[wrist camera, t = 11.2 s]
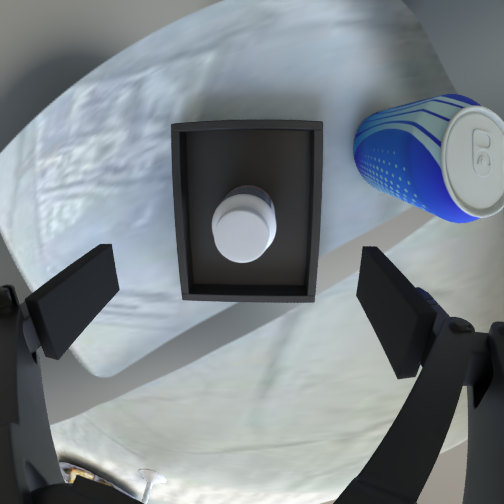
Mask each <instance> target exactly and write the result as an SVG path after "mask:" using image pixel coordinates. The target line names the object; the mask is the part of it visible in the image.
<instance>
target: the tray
mask: <svg viewBox="0 0 504 504" xmlns="http://www.w3.org/2000/svg"><path fill="white" fill-rule="evenodd" d="M171 146H172V176H173V197H174V213H175V228H176V241H177V252H178V263H179V273H180V283H181V292H182V300H192V301H221V302H279V303H280V302H282V303H284V302H285V303H289V302H290V303H295V302H296V303H310V302H315V292H316V280H317V267H318V254H319V239H320V221H321V199H322V166H323V122H321V121H302V120H222V121H202V122H187V123H175V124H171ZM245 185H251V186H256V187H259V188H261V189H262V190H264V191H265V192H266V193H267V194H268V195H269V196H270V198H271V200H272V202H273V204H274V209H275V219H276V234H275V237H274V240H273V241H272V243H271V244H270V246H269V247H268V248H267V249H266V250H265V251H264V253H263V254H262V255H261V256H260V257H258V258H257V259H255V260H253V261H251V262H246V263H238V262H234V261H231V260H229V259H227V258H226V257H224V256H223V255H222V254H221V253H220V252H219V250H218V248H217V246H216V244H215V240H214V235H213V232H212V219H213V215H214V213H215V210H216V209H217V207H218V206H219V204H220V203H221V202H222V201H223V199H224V198H225V197H226V196H227V194H228V193H229V192H231V191H232V190H233V189H235V188H237V187H240V186H245Z"/></svg>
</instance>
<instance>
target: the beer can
mask: <svg viewBox="0 0 504 504" xmlns="http://www.w3.org/2000/svg"><path fill="white" fill-rule="evenodd" d="M353 152H354V159H355V163H356V166H357V168H358V170H359V172H360V174H361V175H362V177H363V178H364V179H365V180H366V181H367V182H368V183H369V184H370V185H371V186H372V187H374V188H375V189H377V190H379V191H382V192H384V193H387V194H389V195H391V196H394V197H396V198H398V199H401V200H403V201H405V202H408V203H410V204H412V205H414V206H417V207H419V208H421V209H423V210H425V211H428V212H430V213H432V214H434V215H436V216H438V217H440V218H442V219H444V220H447V221H450V222H455V223H466V222H471V221H474V220H477V219H479V218H485V217H489V216H492V215H494V214H496V213H498V212H499V211H500V210H501V209H502V208H503V207H504V121H503V120H502V119H501V118H500V117H499V116H498V115H497V114H496V113H494V112H493V111H491V110H490V109H488V108H485V107H483V106H481V105H480V104H478V103H477V102H475V101H474V100H472V99H470V98H467V97H465V96H462V95H456V94H447V95H442V96H437V97H433V98H429V99H425V100H421V101H417V102H413V103H409V104H405V105H402V106H398V107H394V108H391V109H387V110H384V111H380V112H377V113H374V114H372V115H371V116H369V117H368V118H367V119H365V120H364V121H363V123H362V124H361V125H360V127H359V128H358V130H357V133H356V135H355V139H354V145H353Z"/></svg>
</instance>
